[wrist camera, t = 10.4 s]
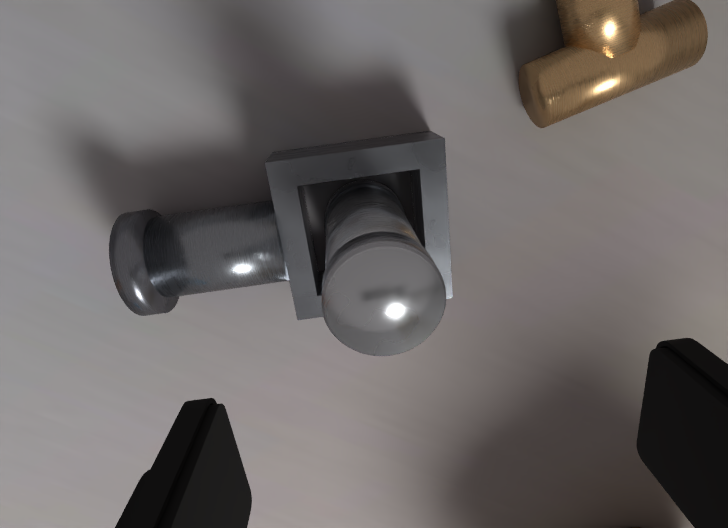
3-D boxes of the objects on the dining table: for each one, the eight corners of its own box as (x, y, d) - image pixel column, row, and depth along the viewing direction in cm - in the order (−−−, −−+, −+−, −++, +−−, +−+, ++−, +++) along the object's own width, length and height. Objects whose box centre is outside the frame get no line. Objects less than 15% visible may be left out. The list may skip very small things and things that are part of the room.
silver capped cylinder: (398, 173, 23) (444, 236, 14) (405, 248, 25) (450, 349, 16) (318, 185, 23) (311, 255, 14) (331, 259, 25) (331, 366, 15)
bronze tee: (527, 124, 23) (555, 131, 20) (497, -2, 20) (523, -15, 18) (662, 68, 22) (710, 67, 19) (646, -69, 20) (698, -92, 17)
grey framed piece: (430, 130, 22) (456, 144, 18) (439, 274, 25) (463, 317, 21) (133, 171, 22) (81, 196, 17) (179, 311, 25) (145, 363, 21)
